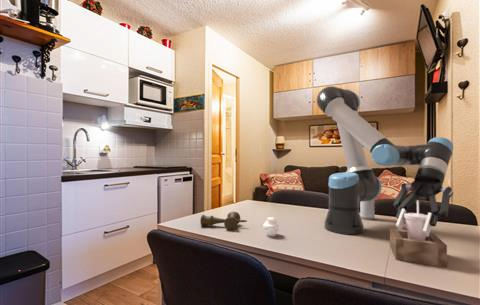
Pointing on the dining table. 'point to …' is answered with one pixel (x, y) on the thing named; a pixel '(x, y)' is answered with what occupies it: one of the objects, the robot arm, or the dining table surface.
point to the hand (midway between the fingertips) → (411, 230)
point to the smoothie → (415, 224)
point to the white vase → (271, 226)
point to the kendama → (223, 220)
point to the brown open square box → (418, 248)
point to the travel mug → (367, 210)
